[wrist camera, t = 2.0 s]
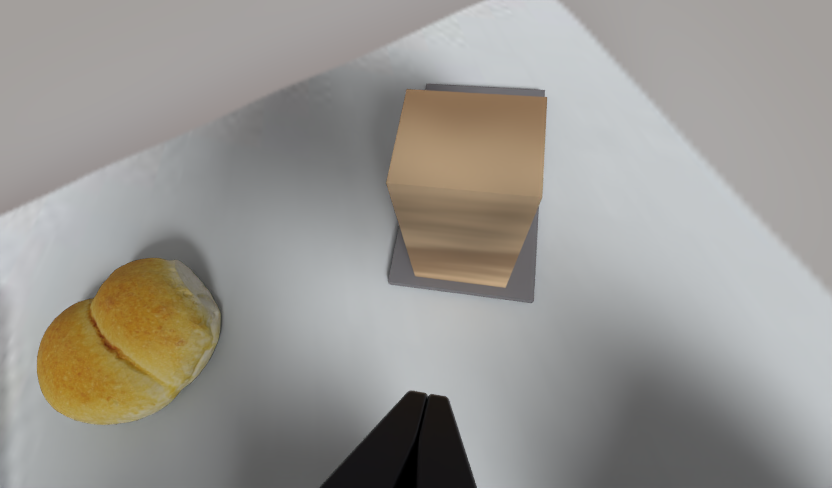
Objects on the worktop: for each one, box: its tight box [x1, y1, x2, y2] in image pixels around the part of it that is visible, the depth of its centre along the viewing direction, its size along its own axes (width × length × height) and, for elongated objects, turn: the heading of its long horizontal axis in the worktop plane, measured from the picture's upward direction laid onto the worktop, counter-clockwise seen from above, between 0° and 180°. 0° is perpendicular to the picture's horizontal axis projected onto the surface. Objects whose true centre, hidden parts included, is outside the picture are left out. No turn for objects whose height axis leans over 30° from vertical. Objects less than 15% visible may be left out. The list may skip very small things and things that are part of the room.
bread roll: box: [37, 258, 221, 425], centre depth 21 cm, size 8×9×4 cm
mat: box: [388, 84, 545, 303], centre depth 25 cm, size 14×8×1 cm, turn 172°
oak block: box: [386, 89, 547, 288], centre depth 18 cm, size 4×5×10 cm
